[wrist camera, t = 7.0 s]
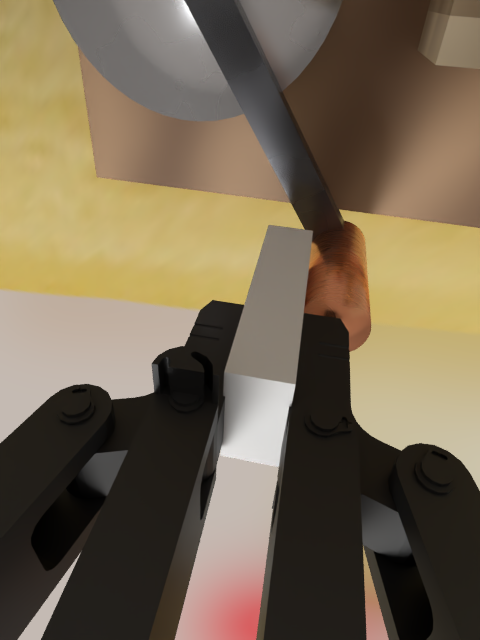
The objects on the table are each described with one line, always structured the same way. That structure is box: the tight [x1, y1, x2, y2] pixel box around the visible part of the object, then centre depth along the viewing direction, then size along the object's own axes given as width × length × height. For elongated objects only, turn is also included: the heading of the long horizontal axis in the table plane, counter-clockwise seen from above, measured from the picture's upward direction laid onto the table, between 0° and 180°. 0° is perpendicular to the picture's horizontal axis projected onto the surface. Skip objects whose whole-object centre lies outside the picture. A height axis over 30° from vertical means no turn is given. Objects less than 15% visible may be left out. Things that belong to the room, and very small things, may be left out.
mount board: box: [78, 0, 480, 228], centre depth 14 cm, size 20×13×2 cm, turn 86°
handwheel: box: [53, 0, 371, 352], centre depth 12 cm, size 9×16×6 cm, turn 31°
